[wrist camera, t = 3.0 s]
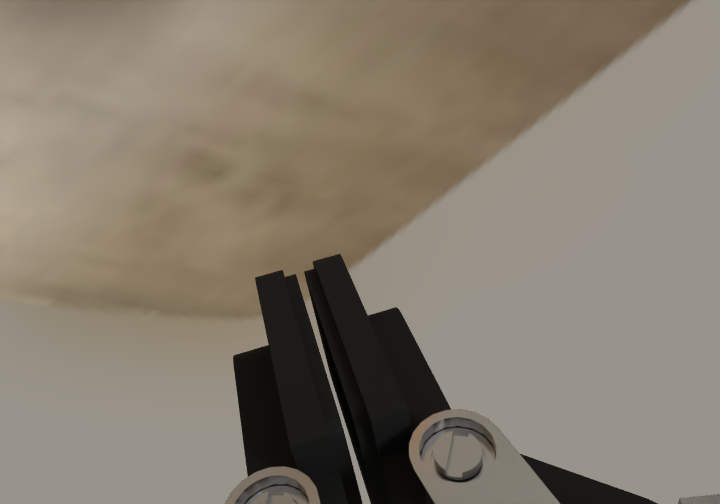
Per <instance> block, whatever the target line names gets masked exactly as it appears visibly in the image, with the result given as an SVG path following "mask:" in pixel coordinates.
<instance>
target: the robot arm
mask: <svg viewBox="0 0 720 504" xmlns="http://www.w3.org/2000/svg"><path fill="white" fill-rule="evenodd" d="M313 265H314V269H312V270H308V271H305V272H304V273H305V277H306V281H307V285H308V289H309V293H310V297H311V301H312V305H313V308H314V312H315V316H316V320H317V324H318V328H319V332H320V336H321V340H322V344H323V348H324V351H325V355H326V359H327V363H328V367H329V371H330V374H331V378H332V381H333V385H334V388H335V391H336V394H337V397H338V401H339V404H340V407H341V410H342V413H343V416H344V420H345V423H346V426H347V429H348V432H349V436H350V438H351V442H352V445H353V448H354V451H355V454H356V458H357V461H358V464H359V467H360V470H361V474H362V477H363V480H364V483H365V486H366V489H367V493H368V496H369V499H370V502H371V504H657V503H655V502H653V501H651V500H649V499H647V498H644V497H641V496H638V495H635V494H632V493H630V492H627V491H624V490H621V489H618V488H615V487H612V486H610V485H607V484H604V483H601V482H598V481H595V480H593V479H590V478H587V477H584V476H581V475H579V474H576V473H573V472H570V471H567V470H564V469H561V468H559V467H556V466H553V465H550V464H547V463H544V462H542V461H539V460H536V459H533V458H530V457H527V456H524V455H522V454H519V453H518V451H517V450H516V449H515V448H514V446H513V445H512V444H511V443H510V441H509V440H508V439H507V438H506V437H505V435H504V434H503V433H502V432H501V430H500V429H499V428H498V427H497V426H496V425H495V424H494V423H492V422H491V421H490V420H489V419H488V418H486V417H484V416H482V415H480V414H478V413H476V412H472V411H467V410H462V409H457V410H451V408H450V406H449V404H448V402H447V401H446V399H445V397H444V395H443V393H442V391H441V389H440V387H439V385H438V383H437V381H436V380H435V377H434V375H433V374H432V372H431V370H430V368H429V366H428V364H427V362H426V360H425V358H424V356H423V354H422V353H421V350H420V348H419V346H418V345H417V343H416V341H415V339H414V337H413V335H412V333H411V331H410V329H409V327H408V325H407V324H406V321H405V319H404V318H403V316H402V314H401V312H400V311H399V309H398V308H392V309H389V310H386V311H382V312H379V313H376V314H372V315H369V316H368V315H367V313H366V311H365V309H364V306H363V304H362V302H361V300H360V297H359V295H358V293H357V291H356V288H355V286H354V284H353V281H352V279H351V277H350V275H349V272H348V270H347V268H346V265H345V263H344V261H343V259H342V257H341V255H340V254H338V255H334V256H331V257H327V258H323V259H320V260H316V261H313ZM255 280H256V285H257V290H258V295H259V300H260V305H261V309H262V314H263V319H264V324H265V329H266V333H267V338H268V343H269V345H268V346H265V347H261V348H258V349H254V350H251V351H248V352H244V353H241V354H237V355H234V357H233V362H234V371H235V379H236V387H237V395H238V403H239V411H240V418H241V426H242V434H243V442H244V449H245V457H246V466H247V473H248V477H247V478H246V479H244V480H242V481H241V482H240V484H239V485H238V486H237V487H236V488H235V489H234V490H233V491H232V492H231V493H230V495H229V497H228V499H227V500H226V502H225V504H362V500H361V496H360V492H359V488H358V484H357V480H356V477H355V473H354V469H353V465H352V461H351V457H350V453H349V450H348V446H347V442H346V438H345V434H344V431H343V427H342V424H341V420H340V417H339V413H338V410H337V407H336V404H335V400H334V397H333V394H332V391H331V387H330V384H329V381H328V378H327V374H326V371H325V368H324V365H323V361H322V358H321V355H320V352H319V349H318V346H317V342H316V339H315V335H314V332H313V329H312V326H311V322H310V319H309V316H308V313H307V310H306V306H305V303H304V300H303V297H302V293H301V290H300V287H299V284H298V280H297V277H296V274H294V275H291V276H287V277H284V273H283V270H281V271H277V272H273V273H270V274H266V275H263V276H259V277H256V278H255ZM678 504H720V494H717V495H707V496H697V497H688V498H680V499H679V503H678Z"/></svg>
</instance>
